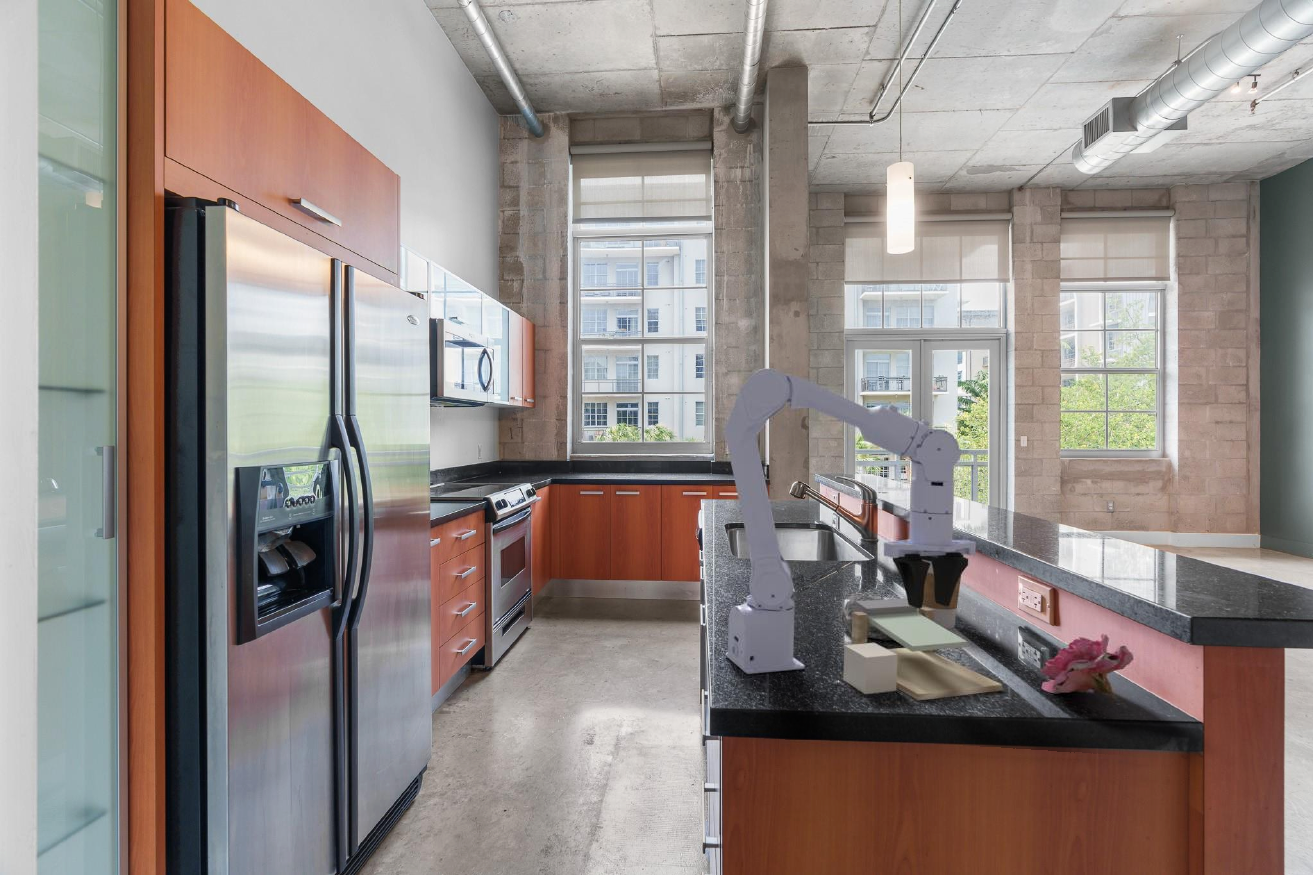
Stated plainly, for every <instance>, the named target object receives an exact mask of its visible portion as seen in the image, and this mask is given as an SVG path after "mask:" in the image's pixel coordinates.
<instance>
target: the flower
mask: <svg viewBox="0 0 1313 875" xmlns="http://www.w3.org/2000/svg"><path fill="white" fill-rule="evenodd" d="M1100 637H1101V640H1098V639H1097V640H1091V639H1089V638H1086V637H1082V636H1078V638H1076V639H1073V641H1072V642H1070V643H1068V644H1067V646H1068V647H1067V648H1065V647H1063V648H1061V649H1059V650H1058V652H1057V654H1056V656H1054V658H1053V659H1048V660H1047V661H1045V662H1044V663H1045V666H1043V668H1042V670H1041V673H1043V675H1045V676H1046V677H1048V679H1047V681H1043V682H1042V684H1041V689H1042V690H1044V691H1045V692H1046V693H1049V694H1055V695H1056V694H1062V693H1071V692H1077V693H1084V692H1085V693H1086V692H1089V691H1090V690H1091V691H1092V692H1096V691H1097V692H1099V693H1101V694H1102V695H1105V696H1108V697H1110V696H1111V698H1113V699H1115V700H1116V701H1118V702H1120V703H1121V704H1122V705H1123V706H1124V707H1126V705H1125V704H1124V703H1122V702H1121V701H1120V700H1119V699H1118V698H1117V697H1116V695H1115V693H1114V691H1113V689H1112V686H1111V681H1110V680H1109V679H1108V674H1110V673H1112V672H1115V671H1121V670H1123V669H1125V668H1126V666H1129V665H1130V664H1131V663H1132V662H1133V660H1134V655H1133V653H1132V652H1131V651H1130V650H1129V649H1128V647H1127V646H1126V645H1121V646H1119V647H1117V649H1115V650H1114V651H1112V652H1108V651H1107V650H1108V645H1109V642H1110V641H1109V640H1110V638H1109V637H1108V635H1107V634H1105V633H1101V634H1100ZM1049 678H1051V679H1049Z"/></svg>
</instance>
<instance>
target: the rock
mask: <svg viewBox="0 0 1313 875" xmlns="http://www.w3.org/2000/svg"><path fill="white" fill-rule="evenodd" d="M891 599H894V598H893V597H892V598H891ZM895 599H902V598H900V597H897V598H895ZM869 600H886V599H885V598H881V597H877V598H876V597H875V598H874V597H871V596H869V595H867V594H856V595H852V596H851V597H850V598H849V601H846V603H845V606H844V610H843V611H842V615H841V627H842V628H843V629H844V630H847V631H848V633H849V634H850V635H852V612H855V603H856V601H869ZM917 613H919V608H917ZM867 639H875V640H876V639H877V640H880V641H883V642H885V641H888V640H889V641H890V640H891V641H895V640H894V639H892V638H891V637H890V636H888V635H887V634H885V633H884V632H882V631H881V630H879V629H878V628H876V627H867Z"/></svg>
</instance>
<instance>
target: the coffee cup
mask: <svg viewBox="0 0 1313 875" xmlns="http://www.w3.org/2000/svg"><path fill="white" fill-rule="evenodd" d="M961 557H964V558H965V556H964V554H961ZM920 558H922V561H925V562H929V563H930V564H931V565H930V567H929V569H928V572H927V576H926V580H925V585H924V598H923V605H922V608H925V607H928V608H930V609H933V610H934V622H935V623H936V624H938V625H940V626H941V627H943V628H945V629H947V630H951V629H954V628H955V627H956V626H955V624H956V618H957V609H958V603H959V596H960V595H959V594H960V587H961V579H962V575H961V576H960V578H959V580H958V582H957V584H956V586H955V589H954V592H953V595H952V598H951V601H950V605H949V606H943V605H940V604H938V603H936V602H935V596H934V573H933V567H932V563H931V559H930V556H920Z"/></svg>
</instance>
